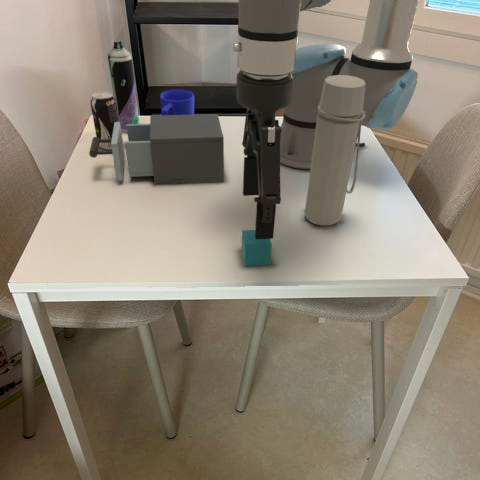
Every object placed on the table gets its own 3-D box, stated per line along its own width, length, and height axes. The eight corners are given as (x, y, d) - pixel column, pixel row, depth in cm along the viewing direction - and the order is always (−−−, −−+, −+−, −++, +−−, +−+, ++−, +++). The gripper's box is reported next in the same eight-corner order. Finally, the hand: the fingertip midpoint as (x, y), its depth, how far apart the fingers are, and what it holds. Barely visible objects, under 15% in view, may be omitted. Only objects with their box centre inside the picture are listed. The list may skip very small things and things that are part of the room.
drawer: (92, 181, 100) (85, 144, 95) (97, 157, 109) (90, 122, 103) (181, 178, 102) (179, 141, 97) (179, 154, 111) (177, 120, 105)
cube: (265, 250, 85) (267, 228, 82) (270, 264, 82) (271, 243, 79) (241, 251, 84) (241, 230, 81) (244, 266, 81) (245, 244, 78)
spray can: (128, 134, 121) (116, 45, 108) (114, 128, 124) (100, 41, 110) (144, 127, 124) (134, 41, 111) (129, 122, 127) (118, 37, 113)
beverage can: (97, 142, 117) (88, 90, 109) (121, 140, 118) (113, 89, 110) (99, 152, 113) (89, 99, 105) (123, 150, 114) (116, 97, 106)
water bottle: (312, 231, 90) (333, 90, 73) (297, 210, 95) (313, 74, 78) (357, 225, 92) (387, 86, 75) (340, 204, 97) (364, 71, 80)
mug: (151, 146, 116) (146, 103, 109) (171, 128, 125) (168, 87, 118) (182, 151, 114) (179, 108, 108) (200, 132, 123) (199, 91, 116)
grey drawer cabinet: (154, 184, 102) (149, 139, 95) (154, 158, 111) (150, 115, 105) (223, 181, 104) (223, 136, 97) (218, 156, 113) (217, 113, 106)
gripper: (226, 47, 71) (225, 180, 86) (250, 104, 53) (244, 260, 68) (276, 47, 72) (266, 178, 87) (316, 103, 54) (296, 258, 68)
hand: (257, 214), depth 77 cm, fingers open, 13 cm apart
